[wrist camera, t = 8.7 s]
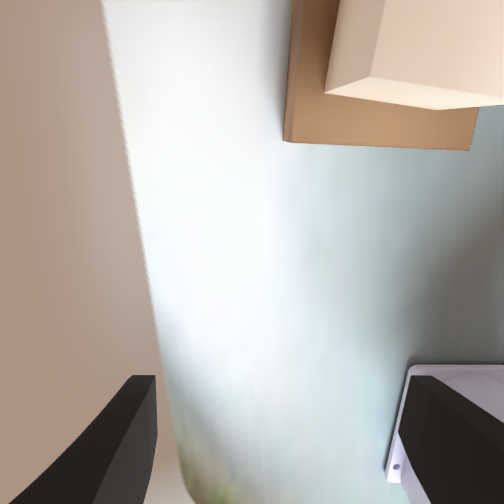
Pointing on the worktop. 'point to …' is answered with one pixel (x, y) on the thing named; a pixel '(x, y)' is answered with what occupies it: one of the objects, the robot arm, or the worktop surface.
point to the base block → (354, 109)
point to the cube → (419, 52)
